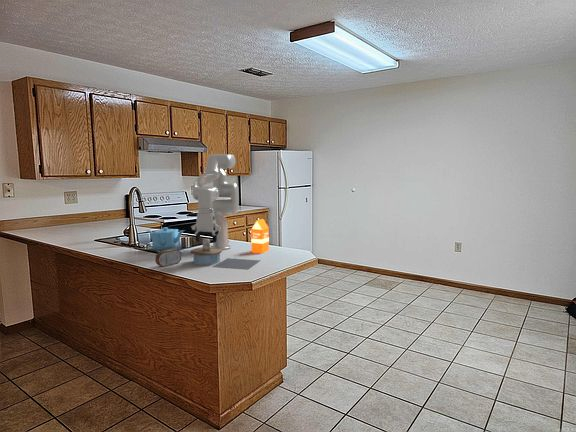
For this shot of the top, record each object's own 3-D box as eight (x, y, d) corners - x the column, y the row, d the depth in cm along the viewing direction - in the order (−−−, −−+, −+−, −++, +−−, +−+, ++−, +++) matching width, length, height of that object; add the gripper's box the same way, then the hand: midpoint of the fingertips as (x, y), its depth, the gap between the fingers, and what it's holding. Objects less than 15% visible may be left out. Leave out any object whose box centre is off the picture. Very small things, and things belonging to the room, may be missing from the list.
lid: (199, 247, 224) (199, 236, 223) (227, 249, 219) (226, 237, 218) (184, 254, 207) (184, 241, 206) (213, 256, 203) (213, 243, 202)
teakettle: (172, 246, 258) (171, 224, 256) (187, 250, 245) (186, 227, 243) (145, 250, 245) (143, 227, 243) (158, 255, 232) (157, 230, 230)
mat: (227, 259, 221) (227, 258, 221) (260, 261, 216) (260, 260, 216) (211, 268, 202) (211, 266, 202) (247, 270, 197) (247, 269, 197)
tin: (179, 262, 216) (178, 247, 215) (182, 262, 214) (182, 247, 213) (155, 267, 204) (154, 251, 203) (158, 268, 202) (157, 252, 201)
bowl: (201, 258, 222) (201, 248, 222) (223, 260, 219) (223, 249, 218) (188, 264, 209) (188, 253, 208) (212, 266, 205) (212, 255, 205)
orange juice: (251, 252, 240) (250, 220, 238) (258, 249, 248) (258, 218, 246) (262, 253, 237) (262, 220, 234) (269, 250, 245) (269, 219, 242)
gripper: (223, 210, 212) (223, 241, 214) (194, 209, 216) (195, 239, 219) (217, 212, 205) (217, 244, 207) (187, 211, 209) (188, 242, 212)
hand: (206, 241), depth 213 cm, fingers open, 9 cm apart
